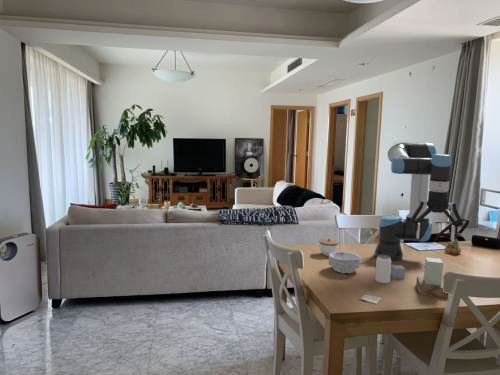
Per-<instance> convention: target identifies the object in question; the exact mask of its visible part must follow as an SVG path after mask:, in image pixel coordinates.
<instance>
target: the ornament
mask: <svg viewBox="0 0 500 375" xmlns="http://www.w3.org/2000/svg"><path fill="white" fill-rule="evenodd" d="M444 252H445V253H447V254H450V255H451V254H453V255H460V254H461V253H462V248H461V247H460V244H459V240H458V237H456V236H454V242H452V241H449V242H447V244H445V247H444Z"/></svg>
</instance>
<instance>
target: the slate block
mask: <svg viewBox="0 0 500 375" xmlns="http://www.w3.org/2000/svg"><path fill="white" fill-rule="evenodd" d="M405 272H406V268H404V266H403V265H401V264H399V265H398V264H391V274H390V277H392V278H393V279H395V278H399V280H402V279H403V280H404V279H405V274H406V273H405Z"/></svg>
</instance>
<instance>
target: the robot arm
mask: <svg viewBox="0 0 500 375" xmlns="http://www.w3.org/2000/svg"><path fill="white" fill-rule="evenodd" d="M436 149H437V148H436V146H435V145H434V143H431V142H430V143H429V142H405V141H404V142H399V143H396V144H394V145H392V146H391V147H389V149H388V151H387V158H388V161H389V162H391V163H390V164H391V165H390V170H391V173H392V174H398V175H401V174H402V175H411V180H410V181H411V182H410V193H409V194H410V198H409V212H408V214H407V215H406V217H405V218H403V216H402V215H385V216H382V217H380V220H379V224H378V226H379V230H378V231H379V232H378V242H377V244H376V248H375V250H374V256H375V258H377V257H378V255H388V256H390V257H391V261H401V260H403V258H404V253H403V250H402V244H401V241H413V242H414V241H417V242H427V241H429V239H430V238H431V235H432V231H433V222H432V220H430V217H429V214H430V213H431V212H432V213H439V214H442V213H444V215H445V216H446V217H447V218H448V219H449V220H450V222H451V223H452V225H451V228H450V229H451V230H450V242H454V237H455V235H457V234H458V230H459V227H460V226H464V222H463V219H462V218H461V216H460V213H459V212H458V210H457V204H456V203H455V202H449V192H448V191H449V190H450V189H449V188H450V180H451V178H450V176H451V167H452V156H451V155H450V154H437V150H436ZM448 207H449V208H451V210H452V212H453V214H454V216H455V218H456V220H455V219H454V218H453V216H452V215H451V214H450V213H449V212H448V210H447V209H448Z"/></svg>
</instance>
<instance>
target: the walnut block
mask: <svg viewBox="0 0 500 375" xmlns="http://www.w3.org/2000/svg"><path fill="white" fill-rule="evenodd" d="M443 279H444V278H442V282H441V286H440V285H431V284H426V283H425V281H424V276H416V283H415V286H416V288H417V290H418V294H419V295H422V294H424V295H423V296H430V295H432V297H438V296H445V297H444V298H446V297H448V298H449V295H450V293H445V292H443Z"/></svg>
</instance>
